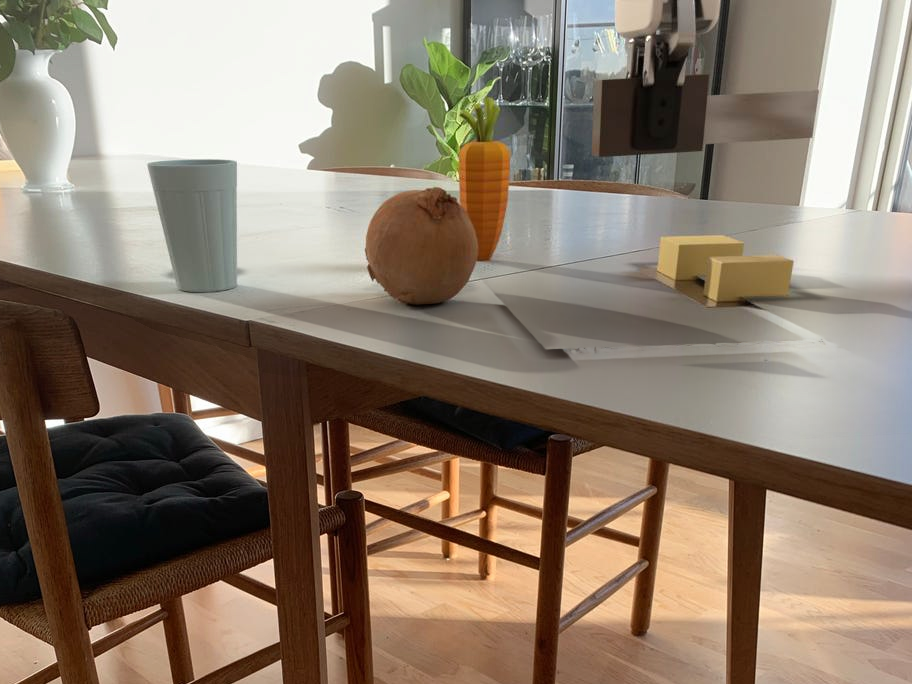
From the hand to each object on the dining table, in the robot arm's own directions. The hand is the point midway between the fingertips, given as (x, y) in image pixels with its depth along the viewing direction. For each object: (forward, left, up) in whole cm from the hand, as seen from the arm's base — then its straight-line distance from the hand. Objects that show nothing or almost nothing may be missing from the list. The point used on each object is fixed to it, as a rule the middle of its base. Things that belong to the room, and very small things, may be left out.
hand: (648, 146), depth 72 cm
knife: (-4, 0, 0) cm, 4 cm away
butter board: (-9, -5, -12) cm, 16 cm away
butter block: (-9, -10, -11) cm, 18 cm away
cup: (+36, -16, -12) cm, 41 cm away
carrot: (+9, -22, -12) cm, 27 cm away
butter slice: (-9, +1, -11) cm, 14 cm away
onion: (+17, -6, -12) cm, 22 cm away
